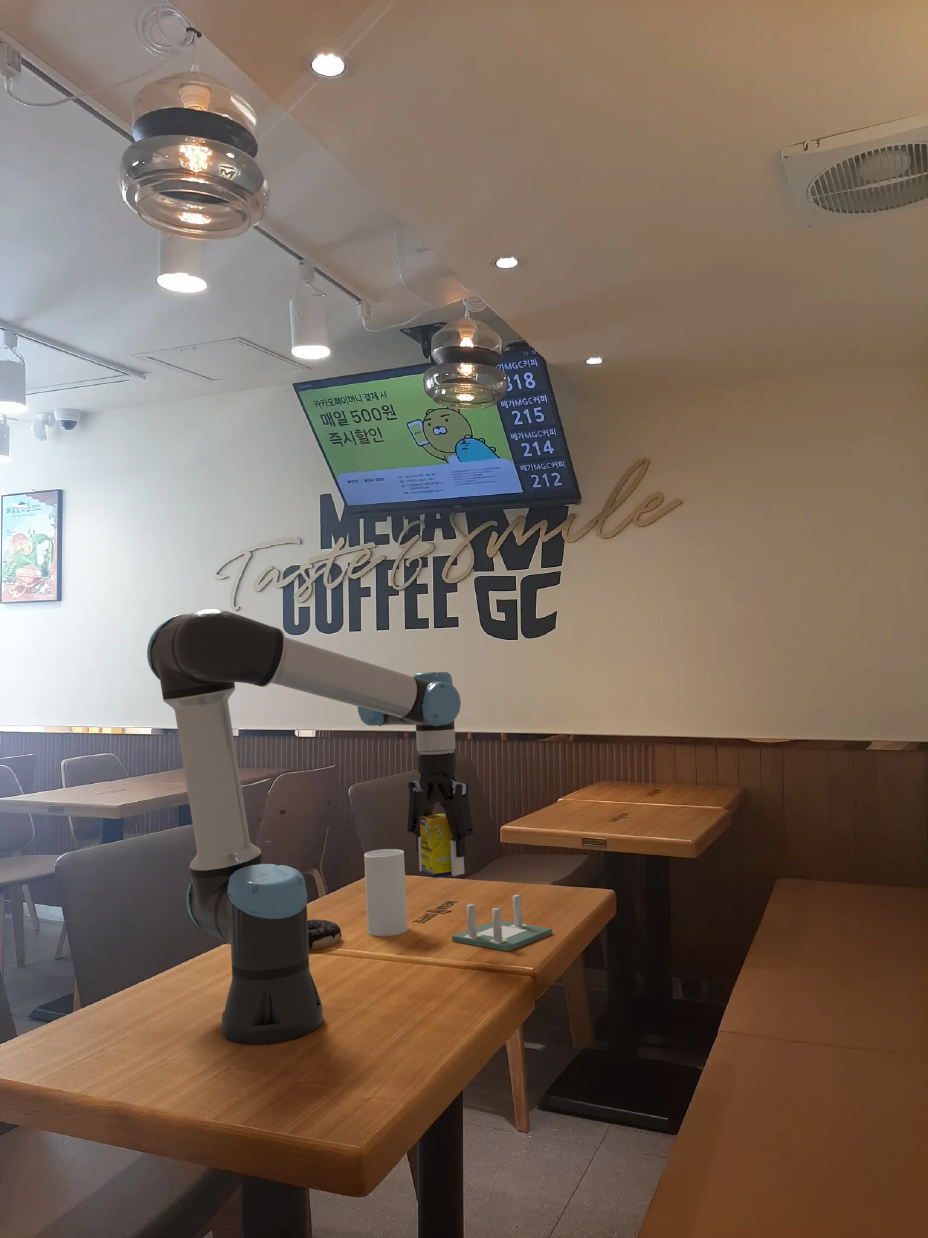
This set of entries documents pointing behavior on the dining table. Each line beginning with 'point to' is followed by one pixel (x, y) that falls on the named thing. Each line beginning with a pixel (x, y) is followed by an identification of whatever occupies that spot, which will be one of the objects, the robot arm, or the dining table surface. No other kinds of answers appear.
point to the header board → (507, 944)
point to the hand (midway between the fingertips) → (441, 872)
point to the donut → (322, 934)
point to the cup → (385, 892)
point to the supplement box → (436, 845)
